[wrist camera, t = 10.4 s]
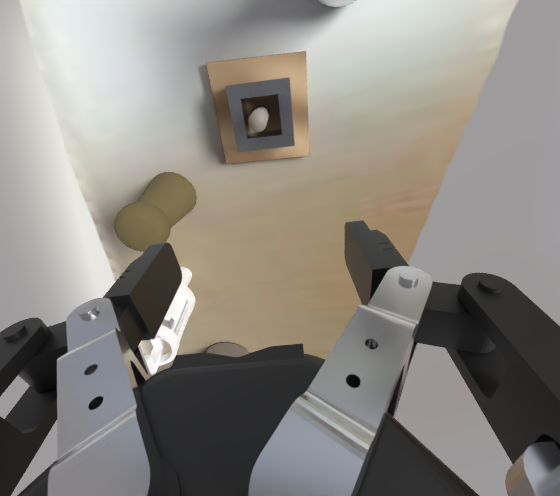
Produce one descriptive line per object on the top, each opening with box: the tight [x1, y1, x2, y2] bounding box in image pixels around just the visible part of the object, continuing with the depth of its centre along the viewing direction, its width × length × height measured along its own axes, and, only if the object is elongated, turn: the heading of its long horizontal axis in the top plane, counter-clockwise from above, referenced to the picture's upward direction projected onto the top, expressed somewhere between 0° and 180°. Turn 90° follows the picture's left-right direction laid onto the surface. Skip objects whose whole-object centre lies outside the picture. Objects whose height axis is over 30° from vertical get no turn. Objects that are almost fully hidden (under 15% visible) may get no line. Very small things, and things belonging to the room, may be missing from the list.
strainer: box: [143, 267, 195, 374], centre depth 36 cm, size 7×7×15 cm
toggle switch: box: [206, 51, 309, 164], centre depth 26 cm, size 10×10×8 cm
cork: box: [114, 172, 197, 251], centre depth 30 cm, size 6×6×11 cm
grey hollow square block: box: [225, 77, 295, 152], centre depth 27 cm, size 6×6×4 cm
